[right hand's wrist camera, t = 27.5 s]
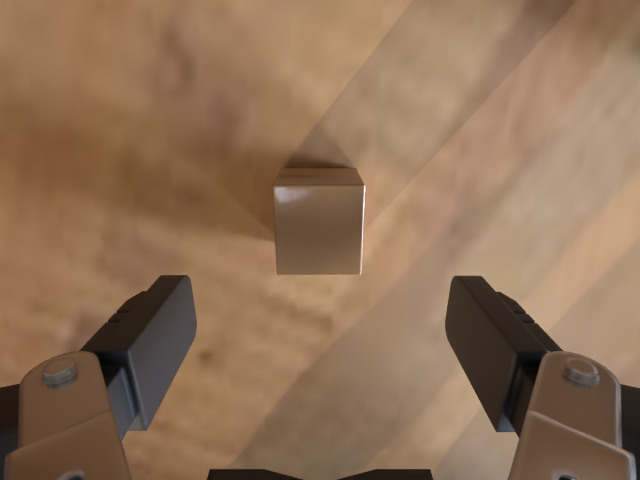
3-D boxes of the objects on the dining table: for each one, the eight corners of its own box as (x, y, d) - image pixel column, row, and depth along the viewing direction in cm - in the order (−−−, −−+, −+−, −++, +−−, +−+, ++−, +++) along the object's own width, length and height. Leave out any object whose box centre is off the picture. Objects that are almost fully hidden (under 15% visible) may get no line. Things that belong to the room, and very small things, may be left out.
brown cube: (354, 244, 21) (361, 275, 18) (284, 244, 21) (276, 275, 18) (356, 167, 20) (365, 184, 16) (281, 167, 20) (272, 184, 16)
